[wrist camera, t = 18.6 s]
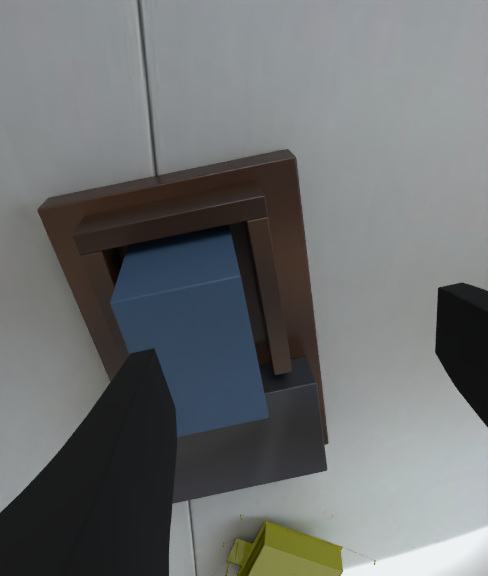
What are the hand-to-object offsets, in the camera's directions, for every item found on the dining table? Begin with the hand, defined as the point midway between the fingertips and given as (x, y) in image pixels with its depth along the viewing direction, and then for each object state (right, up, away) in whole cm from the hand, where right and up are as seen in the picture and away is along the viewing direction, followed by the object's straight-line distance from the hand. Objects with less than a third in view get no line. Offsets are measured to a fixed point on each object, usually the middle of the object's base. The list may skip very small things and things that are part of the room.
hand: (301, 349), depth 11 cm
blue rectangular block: (-4, +1, +8) cm, 9 cm away
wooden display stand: (-3, -1, +11) cm, 11 cm away
